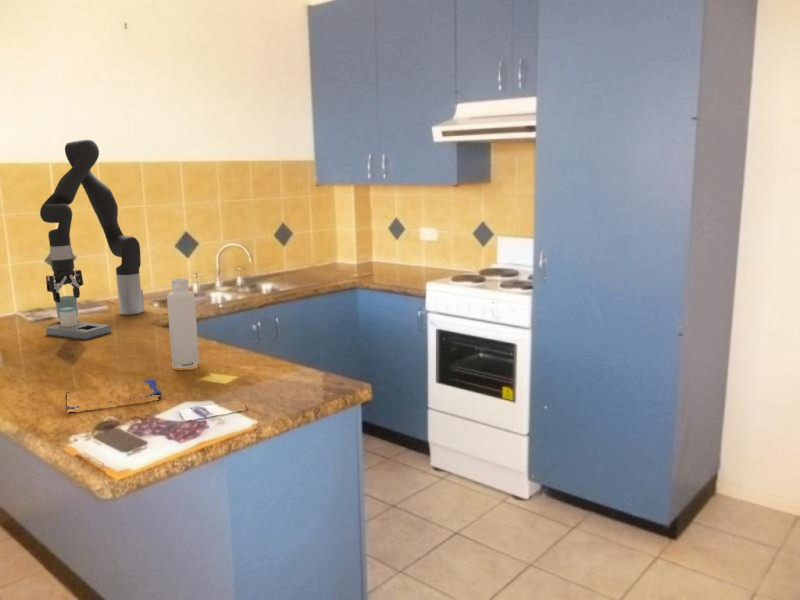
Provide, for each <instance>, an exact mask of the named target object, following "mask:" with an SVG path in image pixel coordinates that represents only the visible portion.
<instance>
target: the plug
mask: <svg viewBox="0 0 800 600" xmlns="http://www.w3.org/2000/svg"><path fill="white" fill-rule="evenodd" d="M59 314H60V320H59V321H60V323H59V324H61V327H72V326H75V325H77V321H78V317H76V308H72V307H66V308H62V309H59Z"/></svg>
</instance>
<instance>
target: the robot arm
mask: <svg viewBox="0 0 800 600" xmlns="http://www.w3.org/2000/svg"><path fill="white" fill-rule="evenodd" d="M64 152H65V157H66V159H67V161H68V163H69V164H70V166H71V168H70V169H69V170H68V171H67V172H66V173H64V175H63V176H62V177H61V178H60V180H59V181H58V183H57V184H56V187H55V189H54V191H53V193H52V194H51V195H50V196H49V197H48V198H47V199H46V200H45V201H44V202H43V204H42V205H41V207H40V211H39V216H40V218H41V221H43V222H45V223H47V224H58V226H57V228H55V229H51V230H49V231H48V235H47V236H48V242H49V254H50V255H49V256H50V257H49V258H50V264H51V271H52V272H53V275H46V276H45V278H46V279H45V283H46V290H47V291H46V292H50V293H52V297H53V301H54V302H57V303H59V302H61V301H60V297H61V294H60V290H61V288H63V286H65V285H70V286H71V287H72V294H73V295H72V296H74V298H77V299H79V298H80V296H81V293H80V287H82V286H84V280H83V274H82V273H83V272H82V270H81V269H75V263H74V254H73V250H72V245H71V244H72V243H71V237H70V236H71V235H70V234H71V233H70V232H71V226H72V225H71V224H72V220H73V210H72V208H71V207H70V206H69V205H71V204H72V203H73V202H74V200H75V198H76V196H77V195H76V194H77V193H78V190H79V189H80V186H82V188H83V189H84V192H85V194H86V196H87V198H88V200H89V203H90V204H91V208H92V209H93V211H94V213H95V215H96V217H97V220H98V221H99V224H100V226H101V228H102V231H103V233H104V235H105V236H104V237H105V239H106V242H107V245H108V247H109V250H110V251H111V253H112V255H114V256H115V257H117V258H121V263H120V265H119V266H116V267H115V275H116V284H117V285H116V286H117V297H118V306H119V314H120V315H124V316H125V315H126V316H127V315H128V316H129V315H138V314H141V313H143V312H145V301H144V291H143V289H142V288H141V276H140V268H141V263H142V262H141V246H140V242H139V240H138V239H137V238H136V237H135V236H132V235H131V236H130V235H124V233H123V232H122V230H121V228H120V226H119V223H118V215H119V213H118V212H119V209H118V208H119V207H118V204H117V203H118V202H117V201H116V198H115V196H114V194H113V192H112V190H111V188H109V187H108V185H106V184H105V183H104V182H103V181H102V180H100V178H98V177H97V176H95V174H94V173H93V172H92V171H91V170H92V169H93V166H95V164H96V163H97V161H98V159H99V157H100V156H99V155H100V150H99V147H98V145H97V143H96V141H94V140H92V139H88V138H87V139H79V140H75V141H74V140H72V141H69V142H67V143H66V144H65V146H64Z"/></svg>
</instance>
